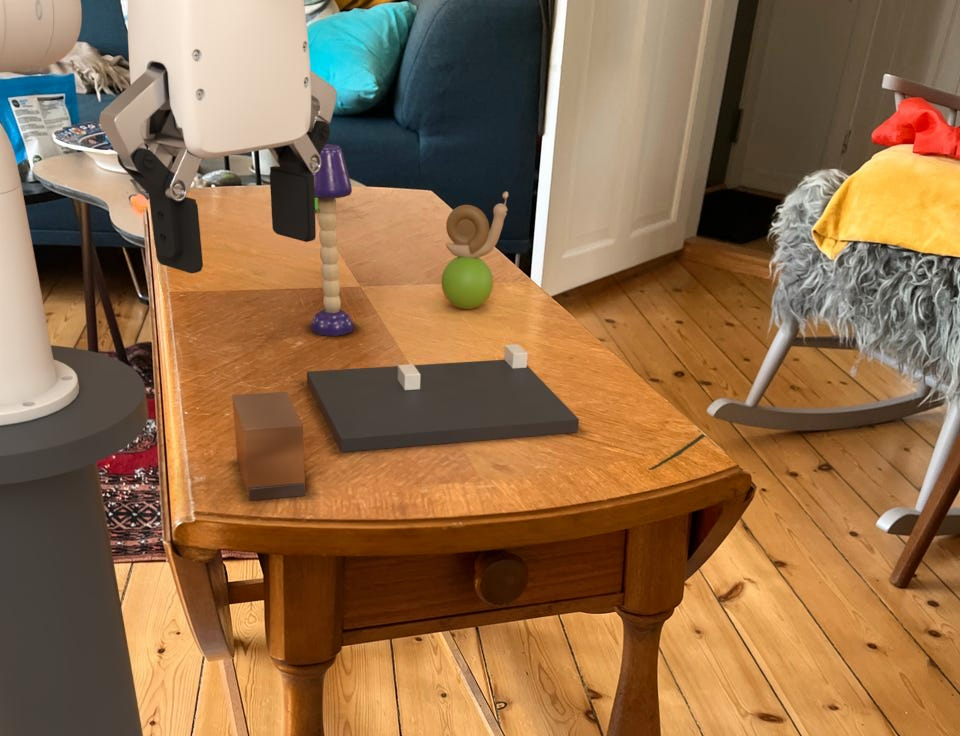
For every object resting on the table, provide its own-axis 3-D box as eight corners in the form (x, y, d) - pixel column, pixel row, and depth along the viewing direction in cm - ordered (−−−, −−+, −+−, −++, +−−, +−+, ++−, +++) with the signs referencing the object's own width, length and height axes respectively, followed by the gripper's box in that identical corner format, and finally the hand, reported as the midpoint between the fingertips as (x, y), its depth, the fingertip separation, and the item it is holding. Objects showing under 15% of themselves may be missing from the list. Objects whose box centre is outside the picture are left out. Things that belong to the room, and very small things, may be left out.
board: (341, 452, 80) (340, 438, 79) (307, 384, 91) (306, 371, 90) (577, 432, 86) (579, 419, 85) (519, 370, 97) (520, 358, 96)
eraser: (249, 501, 73) (243, 428, 70) (237, 464, 77) (231, 394, 74) (305, 496, 74) (302, 424, 71) (290, 459, 79) (287, 391, 75)
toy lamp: (298, 331, 101) (291, 147, 92) (317, 317, 105) (311, 138, 96) (344, 339, 101) (341, 153, 91) (361, 324, 104) (360, 144, 95)
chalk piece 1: (404, 390, 88) (404, 375, 87) (397, 380, 90) (397, 364, 89) (420, 389, 88) (420, 374, 87) (412, 379, 90) (413, 363, 89)
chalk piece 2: (512, 368, 94) (513, 353, 93) (503, 359, 95) (504, 344, 95) (526, 368, 94) (528, 353, 93) (517, 358, 96) (518, 343, 95)
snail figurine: (495, 319, 108) (504, 198, 101) (436, 312, 109) (440, 191, 102) (503, 304, 112) (512, 186, 105) (446, 297, 113) (451, 180, 106)
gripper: (277, -88, 61) (290, 216, 71) (25, -101, 49) (83, 267, 59) (377, -79, 58) (376, 238, 68) (133, -91, 46) (175, 297, 56)
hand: (240, 251), depth 63 cm, fingers open, 9 cm apart
